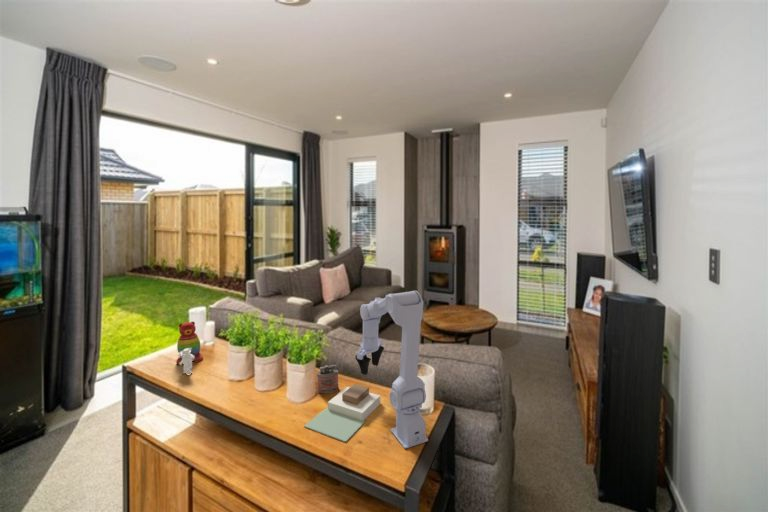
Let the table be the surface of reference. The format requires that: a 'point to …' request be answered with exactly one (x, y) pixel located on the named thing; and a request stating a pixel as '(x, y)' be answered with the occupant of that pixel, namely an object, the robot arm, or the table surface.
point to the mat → (335, 425)
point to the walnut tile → (355, 394)
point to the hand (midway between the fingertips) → (369, 369)
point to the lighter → (327, 379)
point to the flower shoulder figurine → (186, 360)
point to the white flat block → (354, 410)
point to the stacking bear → (189, 341)
